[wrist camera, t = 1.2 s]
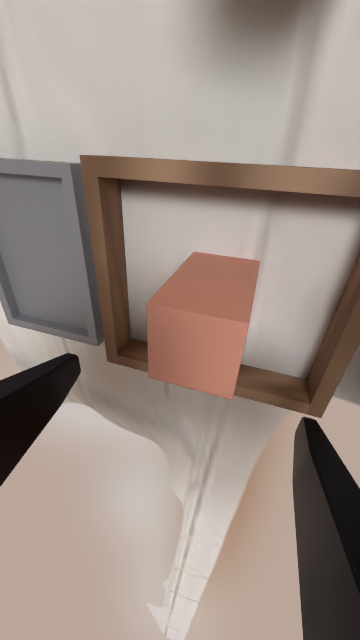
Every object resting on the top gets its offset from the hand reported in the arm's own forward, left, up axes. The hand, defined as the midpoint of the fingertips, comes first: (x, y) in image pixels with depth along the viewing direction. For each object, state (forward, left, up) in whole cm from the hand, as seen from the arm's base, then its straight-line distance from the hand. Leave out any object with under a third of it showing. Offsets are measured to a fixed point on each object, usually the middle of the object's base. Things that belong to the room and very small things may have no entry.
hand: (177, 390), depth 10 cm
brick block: (0, 0, -10) cm, 10 cm away
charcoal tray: (+15, 0, -10) cm, 18 cm away
